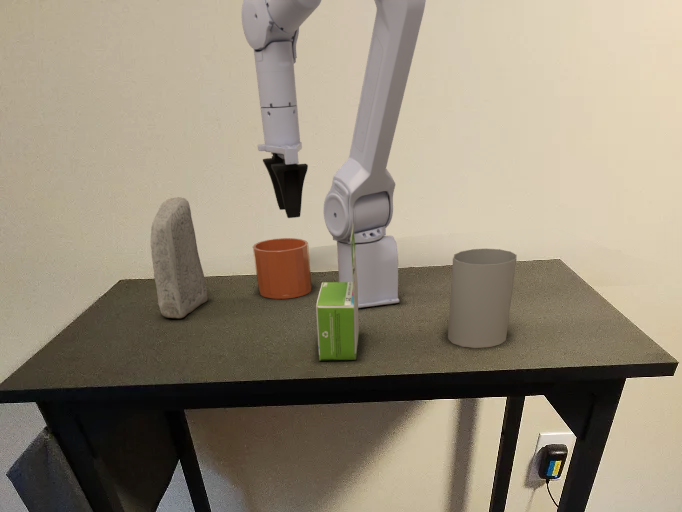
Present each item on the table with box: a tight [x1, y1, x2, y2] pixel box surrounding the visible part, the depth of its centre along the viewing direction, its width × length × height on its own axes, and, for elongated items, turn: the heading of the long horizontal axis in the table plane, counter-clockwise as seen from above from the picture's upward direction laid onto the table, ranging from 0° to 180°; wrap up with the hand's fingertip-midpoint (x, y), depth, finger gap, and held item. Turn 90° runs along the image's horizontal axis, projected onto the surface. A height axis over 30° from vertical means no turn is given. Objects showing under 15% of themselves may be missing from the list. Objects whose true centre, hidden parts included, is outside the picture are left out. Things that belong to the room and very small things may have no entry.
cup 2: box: [447, 248, 518, 349], centre depth 81 cm, size 8×8×10 cm
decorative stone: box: [150, 196, 209, 319], centre depth 94 cm, size 11×6×15 cm, turn 168°
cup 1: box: [252, 237, 313, 300], centre depth 102 cm, size 9×9×7 cm
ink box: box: [315, 224, 360, 362], centre depth 79 cm, size 10×5×14 cm, turn 178°
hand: (289, 213), depth 101 cm, fingers open, 7 cm apart
